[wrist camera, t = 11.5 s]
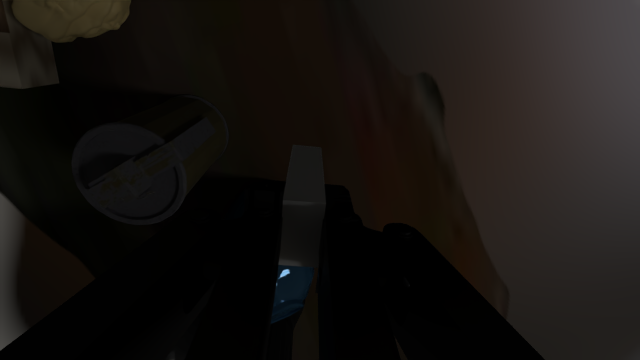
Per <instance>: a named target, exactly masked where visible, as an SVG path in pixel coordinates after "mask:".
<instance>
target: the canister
mask: <svg viewBox="0 0 640 360" xmlns="http://www.w3.org/2000/svg"><path fill="white" fill-rule="evenodd" d="M228 137H229V133H228V127H227V124H226V121H225V119H224V117H223V116H222V114H221V113H220V112H219V110H218V109H217V108H216V107H215V106H214V105H213V104H211V103H209V102H208V101H206V100H204V99H203V98H200V97H197V96H193V95H179V96H175V97H173V98H170V99H169V100H167V101H165V102H164V103H162V104H159V105H157V106H154V107H152V108H150V109H147V110H145V111H142V112H140V113H137V114H135V115H132V116H130V117H127V118H125V119H122V120H120V121H117V122H111V123H105V124H102V125H99V126H96V127H94V128H92V129H91V130H89V131H87V132H86V133H85V134H84V135H83V136H82V137H81V138H80V139H79V141H78V142H77V143H76V146H75V148H74V151H73V153H72V174H73V177H74V179H75V182H76V185H77V187H78V189H79V190H80V192H81V193H82V195H83V196H84V197H85V198H86V200H87V201H88V202H89V203H90V204H91V205H92V206H93V207H94V208H95V209H96V210H98V211H100V212H101V213H103V214H105V215H106V216H108V217H110V218H112V219H114V220H117V221H120V222H123V223H126V224H133V225H149V224H154V223H158V222H161V221H163V220H164V219H166V218H168V217H170V216H171V215H173V214H174V213H175V212H176V211H177V210H178V209H179V207H180V206H181V204H182V202H183V201H184V198H185V196H186V195H187V194H188V193H189V192H190V190H191V189H192V188H193V187H194V186H195V184H196V183H197V182H198V181H199V180H200V178H201V177H202V176H203V175H204V174H205V172H206V171H207V170H208V169H209V168H210V166H211V165H212V164H213V163H214V162H215V161H216V160H217V159H219V158H220V157H221V155H222V154H223V153H224V151H225V149H226V147H227V144H228Z"/></svg>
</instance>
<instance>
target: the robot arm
mask: <svg viewBox="0 0 640 360" xmlns="http://www.w3.org/2000/svg"><path fill="white" fill-rule="evenodd" d="M318 264H319V269H318V277H317V285H316V293H318V320H319V360H401V359H400V355H399V352H398V348H397V345H396V341H395V338H394V336H395V337H396V339H397V341H398V343H399V345H400V346H401V348H402V350H403V352H404V354H405V355H406V357H407V359H408V360H544V359H543V357H542V356H541V355H540V354H539V353H538V352H537V351H536V350H535V349H534V348H533V347H532V346H531V345H530V344H529V343H528V342H527V341H526V340H525V339H524V338H523V337H522V336H521V335H520V334H519V333H518V332H517V331H516V330H515V329H514V328H513V327H512V326H511V325H510V324H509V323H508V322H507V321H506V320H505V319H504V318H503V317H502V316H501V315H500V314H499V313H498V312H497V310H496V309H495V308H494V307H493V306H492V305H491V304H490V303H489V302H488V301H487V300H486V299H485V298H484V297H483V296H482V295H481V294H480V293H479V292H478V291H477V290H476V289H475V288H474V287H473V286H472V285H471V284H470V283H469V282H468V281H467V280H466V279H465V278H464V277H463V276H462V275H461V274H460V273H459V272H458V271H457V270H456V269H455V268H454V267H453V266H452V265H451V264H450V263H449V262H448V261H447V260H446V259H445V257H444V256H443V255H442V254H441V253H440V252H439V251H438V250H437V249H436V248H435V247H434V246H433V245H432V244H431V243H430V242H429V241H428V240H427V239H426V238H425V237H424V236H423V235H422V234H421V233H420V232H419V231H418V230H416V229H415V228H413V227H411V226H409V225H407V224H403V223H390V224H387V225H385V226H384V228H383V232H380V231H376V230H372V229H369V228H367V227H365V226H363V223H362V220H361V218H360V217H359V216H358V215H357V214H355V213H354V209H353V206H352V202H351V198H350V194H349V191H348V190H347V189H346V188H345V187H344V186H340V185H329V184H324V175H323V164H322V153H321V148H320V147H310V146H299V145H293V148H292V153H291V158H290V164H289V169H288V174H287V180H286V182H285V181H273V180H265V181H263V182H262V183H258V184H252V185H250V186H247V187H246V189H245V205H244V213H243V215H242V217H240V218H236V219H230V220H221V216H220V214H219V213H218V212H217V211H214V210H211V209H205V208H200V209H199V208H198V209H194V210H190V211H187V212H185V213H183V214H181V215H180V216H179V217H177V218H176V219H175V220H173V221H172V222H171V223H170V224H168V225H167V226H166V227H164V228H163V229H162V230H160V231H159V232H158V233H156V234H155V235H154V236H152V237H151V238H150V239H148V240H147V241H146V242H144V243H143V244H142V245H140V246H139V247H138V248H136V249H135V250H134V251H132V252H131V253H130V254H128V255H127V256H126V257H124V258H123V259H122V260H120V261H119V262H118V263H116V264H115V265H114V266H112V267H111V268H110V269H108V270H107V271H106V272H104V273H103V274H102V275H100V276H99V277H98V278H96V279H95V280H94V281H92V282H91V283H90V284H88V285H87V286H86V287H84V288H83V289H82V290H80V291H79V292H78V293H76V294H75V295H74V296H72V297H71V298H70V299H69V300H67V301H66V302H65V303H63V304H62V305H61V306H59V307H58V308H57V309H55V310H54V311H53V312H51V313H50V314H49V315H47V316H46V317H45V318H43V319H42V320H41V321H39V322H38V323H37V324H35V325H34V326H33V327H31V328H30V329H29V330H27V331H26V332H25V333H24V334H22V335H21V336H19V337H18V338H17V339H15V340H14V341H13V342H12V343H10V344H9V345H7V346H6V347H5V348H3V349H2V350H1V351H0V360H292V342H293V330H294V328H295V325H296V323H297V321H298V319H299V317H300V315H301V313H302V311H303V308H304V307H303V308H302V309H301V310H299V311H298V312H296V313H294V314H292V315H290V316H288V317H286V318H284V319H281V320H279V321H277V322H274V323H272V324H271V319H272V312H273V305H274V298H275V291H276V284H277V277H278V265H288V266H302V267H317V268H318ZM207 302H208V303H207ZM303 303H304V305H305V299H304V300H303Z"/></svg>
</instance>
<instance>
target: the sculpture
mask: <svg viewBox="0 0 640 360" xmlns="http://www.w3.org/2000/svg"><path fill="white" fill-rule="evenodd" d="M130 3H131V0H13V3H12V5H11V7H12V10H13V14H14V16H15V17H16V19H17V20H18V21H19V22H20V23H21V24H23V25H24V26H26V27H27V28H29V29H31V30H32V31H34V32H36V33H39V34H41V35H43V36H44V37H45V38H46V39H48V40H50V41H53V42H57V43H62V42H72V41H73V40H75V39H76V38H77V37H84V38H91V37H96V36H99V35H101V34H103V33H105V32H107V31H108V30H117V29H119V28H120V25H121V24H122V23H124V22H125V20H126V19H127V17H128V15H129V6H130Z"/></svg>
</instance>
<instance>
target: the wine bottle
mask: <svg viewBox="0 0 640 360" xmlns="http://www.w3.org/2000/svg"><path fill="white" fill-rule="evenodd" d="M244 205H245V190H244V191H243V192H242V193H241V194H240V195H239V196H238V197H237V198H236V199H235V200H234V201H233V203H232V204H231V206H230V208H229V210H228V212H227V214H226V216H225V218H224V220H230V219H236V218H240V217H242V215H243V213H244ZM313 275H314V267H302V266H288V265H278V277H277V284H276V291H275V298H274V305H273V312H272V319H271V324H272V323H274V322H277V321H279V320H281V319H284V318H286V317H288V316H290V315H292V314H294V313H296V312H298V311H299V310H301V309H302V308H303V307H304V303H303V300H304V299H306V297H307V295H308V291H309V288H310V285H311V282H312V278H313Z"/></svg>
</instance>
